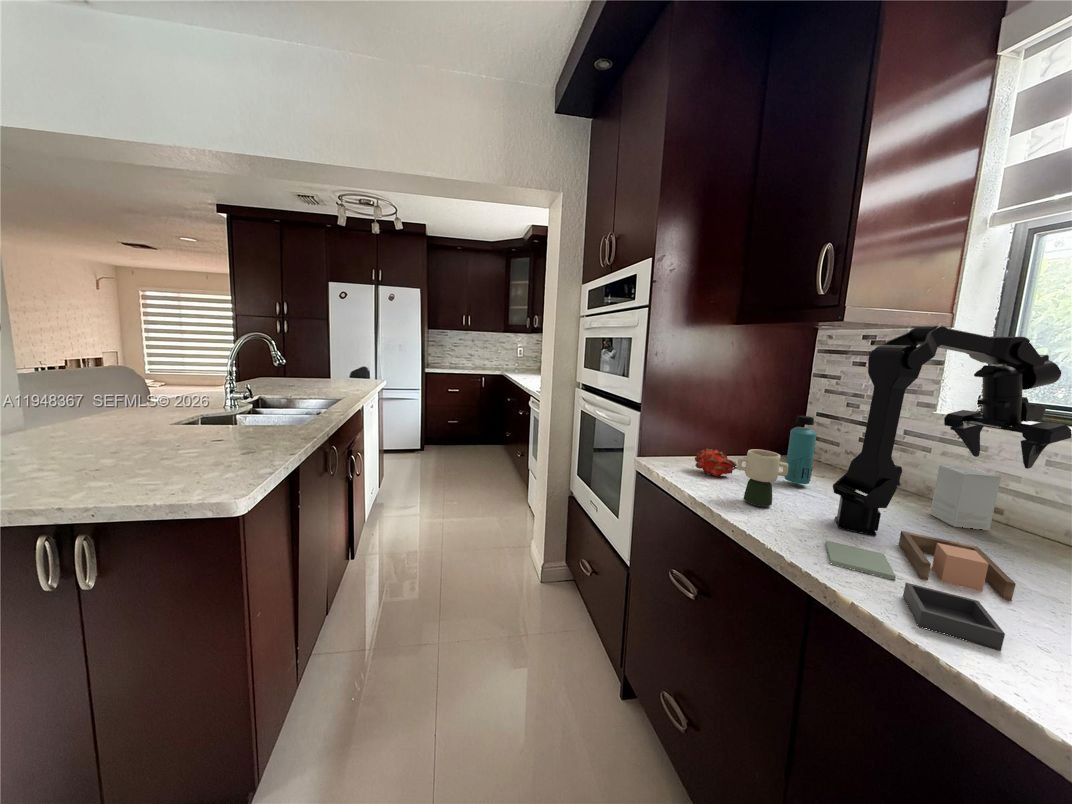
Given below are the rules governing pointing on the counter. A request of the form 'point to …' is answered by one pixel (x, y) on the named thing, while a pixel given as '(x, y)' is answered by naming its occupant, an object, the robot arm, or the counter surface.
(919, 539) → the stall
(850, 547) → the mat
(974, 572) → the block
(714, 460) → the dragon fruit
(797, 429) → the beverage bottle
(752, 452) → the character mug
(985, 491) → the supplement box
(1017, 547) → the counter surface
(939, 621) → the tray
